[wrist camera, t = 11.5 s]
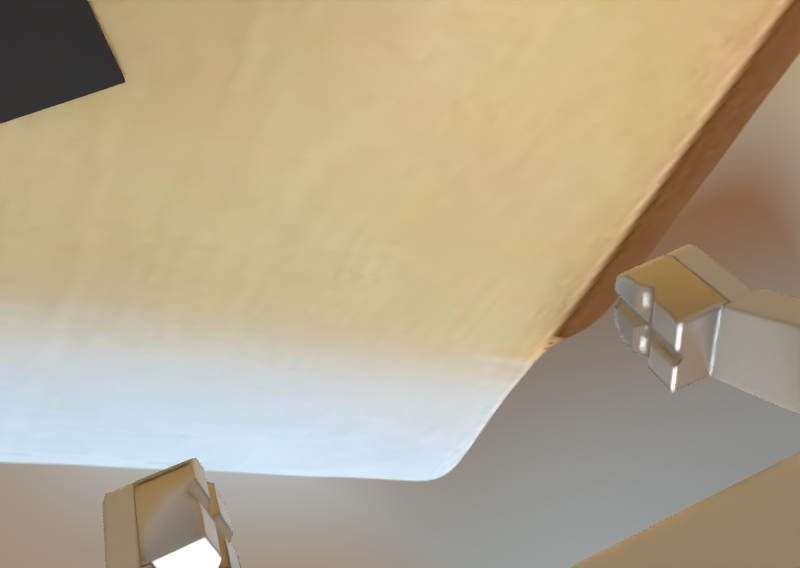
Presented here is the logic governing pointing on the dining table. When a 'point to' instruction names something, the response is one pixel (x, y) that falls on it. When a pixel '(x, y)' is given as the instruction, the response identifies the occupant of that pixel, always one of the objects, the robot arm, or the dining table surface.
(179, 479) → the robot arm
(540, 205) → the dining table surface
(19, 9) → the mat
